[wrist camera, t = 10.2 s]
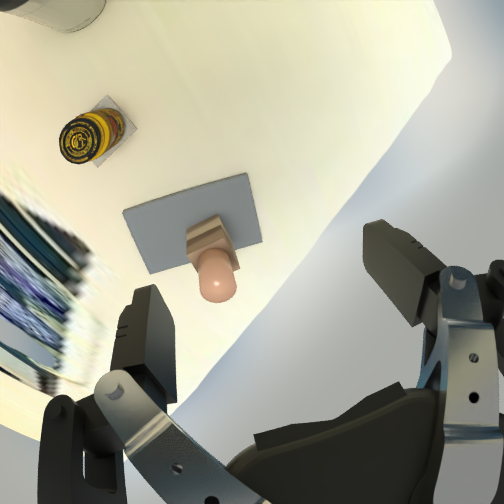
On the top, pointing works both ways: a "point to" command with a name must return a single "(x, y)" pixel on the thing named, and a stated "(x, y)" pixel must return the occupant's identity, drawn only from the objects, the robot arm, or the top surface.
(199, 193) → the board
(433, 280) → the robot arm
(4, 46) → the top surface
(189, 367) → the top surface
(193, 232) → the block base
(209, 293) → the pink cylinder
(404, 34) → the top surface
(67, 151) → the condiment
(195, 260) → the block top
